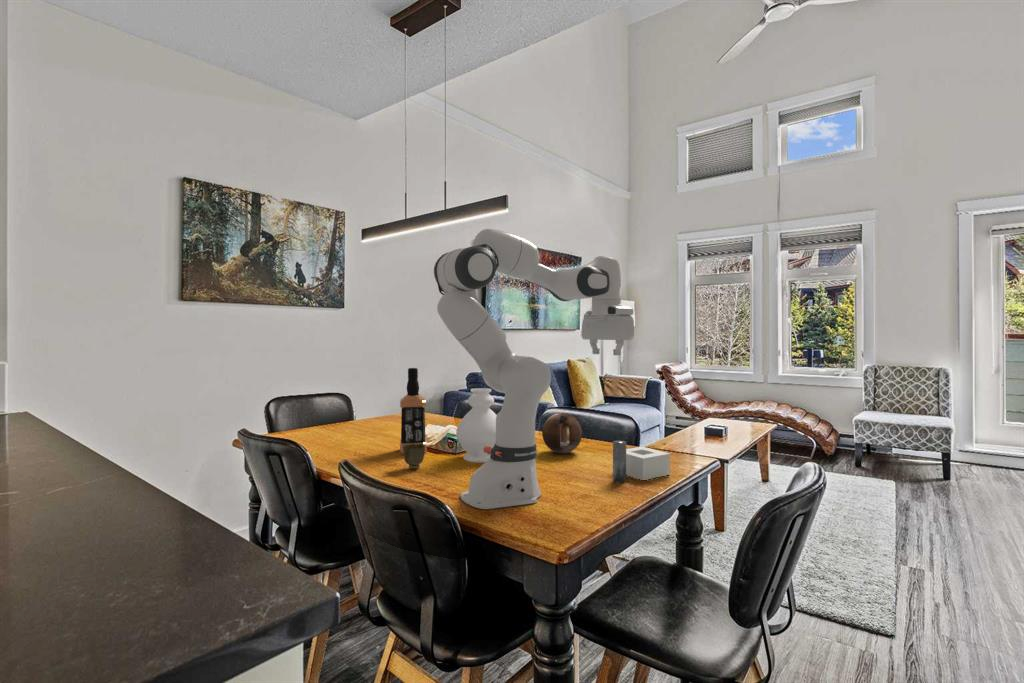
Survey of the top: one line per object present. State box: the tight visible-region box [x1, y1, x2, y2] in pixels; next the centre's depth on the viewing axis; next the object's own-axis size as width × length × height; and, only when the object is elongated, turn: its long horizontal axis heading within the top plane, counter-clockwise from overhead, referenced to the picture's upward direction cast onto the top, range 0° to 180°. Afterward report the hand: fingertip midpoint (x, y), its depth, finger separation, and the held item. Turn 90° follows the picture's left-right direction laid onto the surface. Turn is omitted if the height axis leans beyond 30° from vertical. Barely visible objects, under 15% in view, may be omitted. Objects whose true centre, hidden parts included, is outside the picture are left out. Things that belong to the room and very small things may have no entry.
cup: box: [403, 443, 426, 471], centre depth 172 cm, size 8×7×8 cm
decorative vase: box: [455, 387, 497, 463], centre depth 187 cm, size 18×18×25 cm
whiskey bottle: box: [399, 367, 428, 456], centre depth 197 cm, size 10×10×32 cm
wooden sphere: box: [541, 412, 583, 454], centre depth 195 cm, size 15×15×15 cm
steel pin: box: [612, 440, 627, 484], centre depth 158 cm, size 4×4×12 cm
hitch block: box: [626, 446, 671, 481], centre depth 166 cm, size 12×12×7 cm
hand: (606, 354), depth 160 cm, fingers open, 8 cm apart
